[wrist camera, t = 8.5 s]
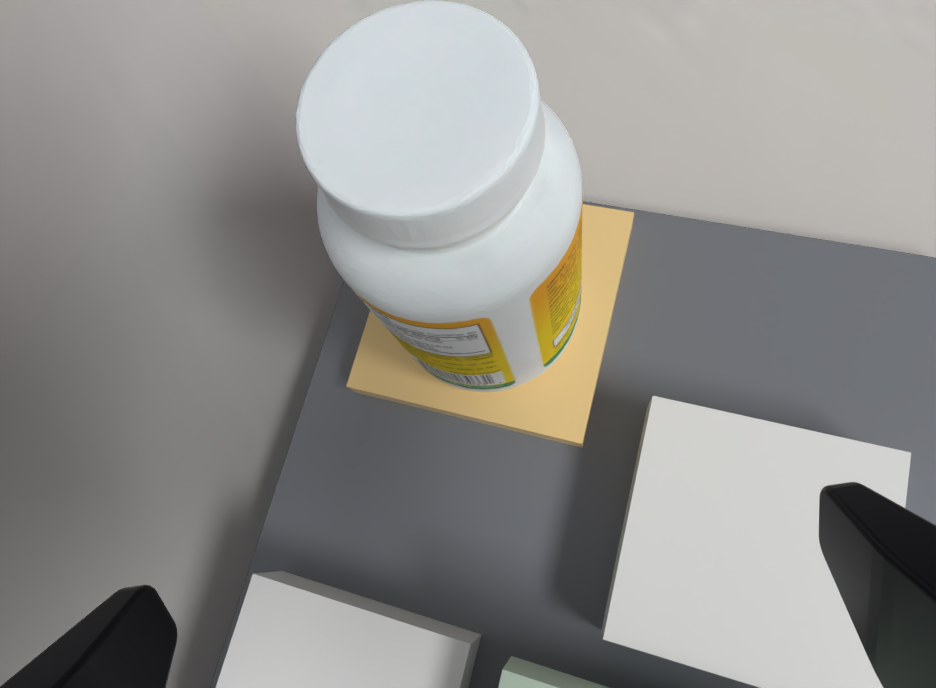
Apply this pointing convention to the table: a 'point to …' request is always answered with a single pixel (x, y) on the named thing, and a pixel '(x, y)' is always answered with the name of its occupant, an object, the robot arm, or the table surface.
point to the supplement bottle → (447, 191)
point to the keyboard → (604, 478)
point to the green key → (539, 677)
